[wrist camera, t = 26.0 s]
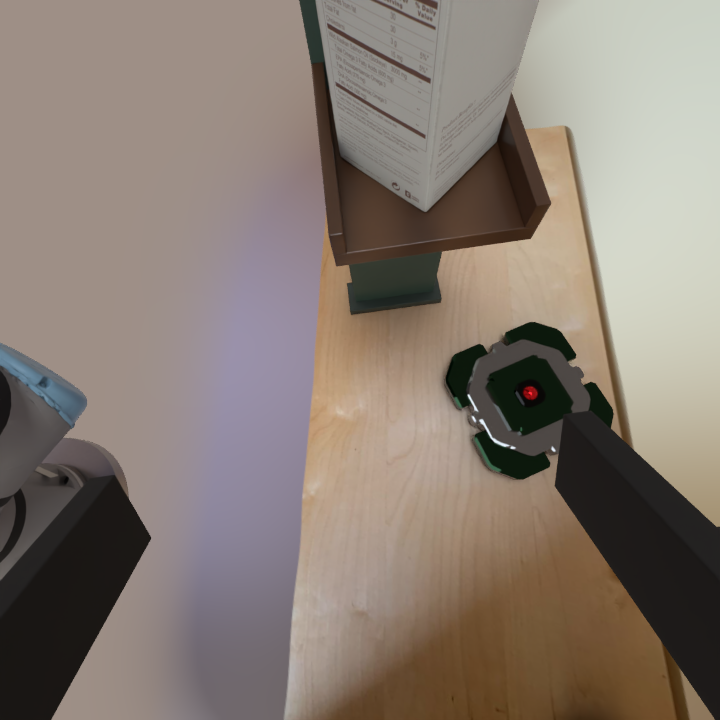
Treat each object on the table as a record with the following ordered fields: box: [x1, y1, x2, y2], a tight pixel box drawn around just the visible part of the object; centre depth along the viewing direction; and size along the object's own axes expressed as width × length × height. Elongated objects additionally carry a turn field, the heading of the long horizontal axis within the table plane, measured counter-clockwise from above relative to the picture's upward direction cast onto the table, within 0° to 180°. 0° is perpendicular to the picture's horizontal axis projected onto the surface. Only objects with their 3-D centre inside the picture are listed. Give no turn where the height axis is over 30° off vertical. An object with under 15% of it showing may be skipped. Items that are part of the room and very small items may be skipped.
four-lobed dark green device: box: [444, 322, 614, 479], centre depth 49 cm, size 18×18×5 cm
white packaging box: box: [315, 0, 539, 212], centre depth 18 cm, size 7×7×13 cm
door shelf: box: [311, 62, 551, 266], centre depth 27 cm, size 12×14×11 cm
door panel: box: [299, 0, 442, 315], centre depth 37 cm, size 14×5×44 cm, turn 96°
